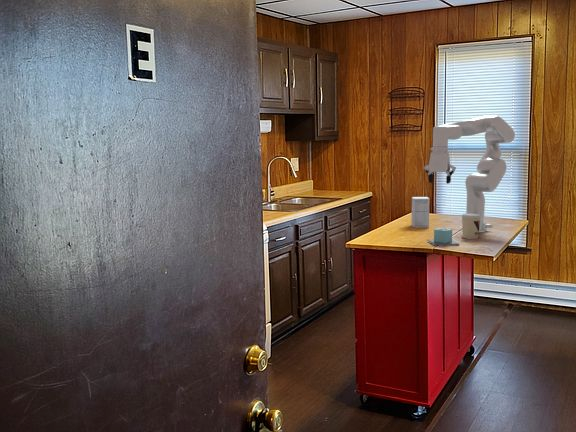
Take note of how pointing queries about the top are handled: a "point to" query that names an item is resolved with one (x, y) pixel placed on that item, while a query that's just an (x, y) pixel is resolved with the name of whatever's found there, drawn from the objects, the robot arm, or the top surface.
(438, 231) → the collar
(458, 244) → the shaft stand
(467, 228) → the coffee cup
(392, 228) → the top surface
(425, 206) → the supplement box
